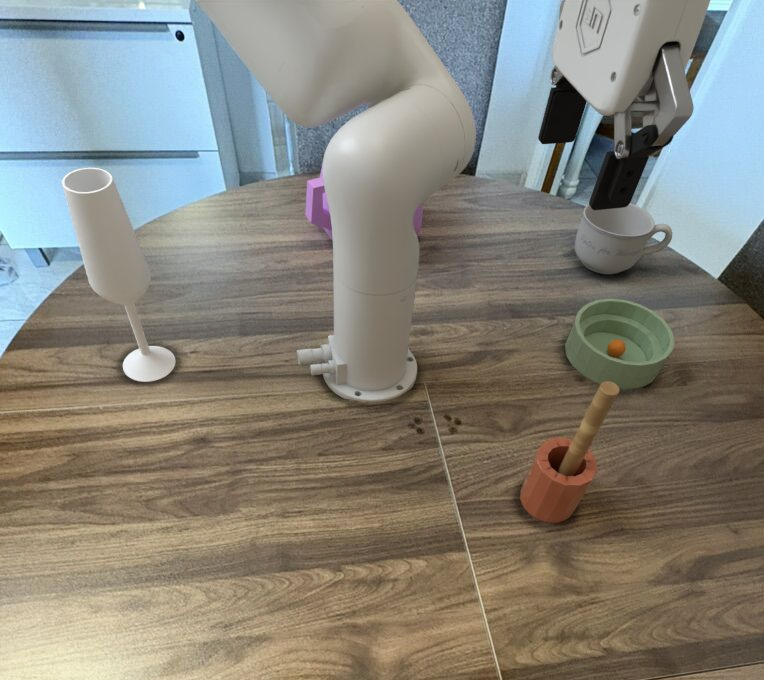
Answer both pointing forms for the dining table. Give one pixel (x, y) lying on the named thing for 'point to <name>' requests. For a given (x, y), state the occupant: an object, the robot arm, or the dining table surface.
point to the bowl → (626, 323)
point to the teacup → (617, 238)
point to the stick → (589, 427)
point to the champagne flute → (114, 260)
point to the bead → (616, 348)
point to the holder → (555, 482)
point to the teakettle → (320, 210)
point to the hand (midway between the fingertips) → (580, 172)
